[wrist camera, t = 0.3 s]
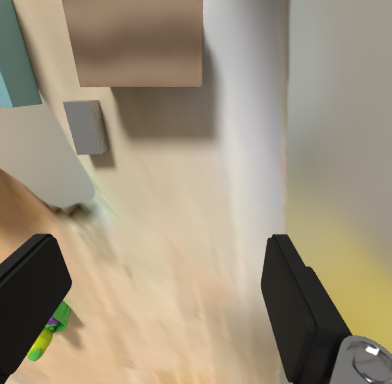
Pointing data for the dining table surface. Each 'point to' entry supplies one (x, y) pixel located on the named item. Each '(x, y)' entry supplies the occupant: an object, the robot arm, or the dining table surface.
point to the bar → (86, 126)
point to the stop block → (14, 63)
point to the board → (136, 42)
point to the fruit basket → (50, 331)
